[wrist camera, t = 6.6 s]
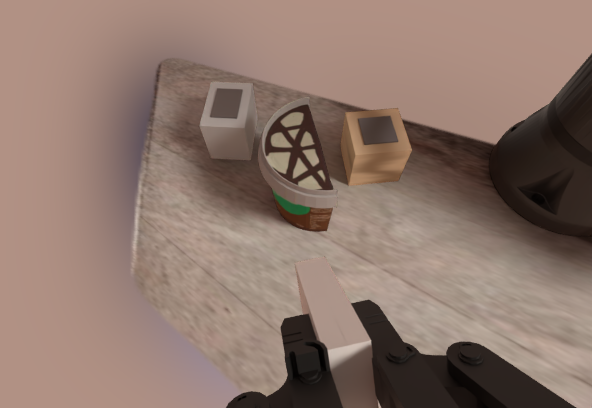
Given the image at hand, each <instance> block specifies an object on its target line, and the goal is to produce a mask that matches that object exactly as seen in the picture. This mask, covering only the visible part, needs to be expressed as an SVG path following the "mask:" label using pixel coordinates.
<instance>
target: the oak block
mask: <svg viewBox="0 0 592 408" xmlns="http://www.w3.org/2000/svg"><path fill="white" fill-rule="evenodd" d="M340 148H341V152H342V157H343V162H344V166H345V171H346V176H347V180H348V185H349V186H351V185H361V184H372V183H382V182H393V181H398V180H399V178H400V176H401V174H402V171H403V169H404V167H405V165H406V162H407V160H408V158H409V156H410V153H411V151H412V148H411V146H410V143H409V140H408V137H407V134H406V131H405V128H404V125H403V122H402V119H401V116H400V113H399V110H398V108H393V109H381V110H370V111H358V112H346V113H345V119H344V125H343V131H342V138H341V144H340Z"/></svg>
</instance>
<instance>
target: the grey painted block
mask: <svg viewBox="0 0 592 408" xmlns="http://www.w3.org/2000/svg"><path fill="white" fill-rule="evenodd" d="M257 120H258V116H257V109H256V102H255V96H254V89H253V83H235V82H211V84H210V88H209V92H208V96H207V99H206V103H205V107H204V110H203V114H202V118H201V122H200V125H199V126H200V129H201V132H202V135H203V137H204V140H205V143H206V146H207V148H208V151H209V154H210V157H211V158H213V159H232V160H251V157H252V151H253V145H254V138H255V132H256V126H257Z"/></svg>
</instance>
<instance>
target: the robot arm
mask: <svg viewBox="0 0 592 408" xmlns="http://www.w3.org/2000/svg"><path fill="white" fill-rule="evenodd" d="M489 168H490V174H491V178H492V180H493V183H494V185H495V187H496V189H497V191H498V192H499V194H500V195H501V196H502V198H503V199H504V200H505V201H506V203H507V204H508V205H509V206H510V207H511V208H513V209H514V210H515V211H516V212H517V213H518V214H520V215H521V216H522V217H524V218H525V219H527V220H529V221H530V222H532V223H534V224H536V225H538V226H540V227H542V228H545V229H547V230H550V231H553V232H556V233H560V234H565V235H572V236H588V235H592V54H591V55H590V56H589V57H588V59H587V60H586V61H585V62H584V63H583V65H582V66H581V67H580V68H579V69H578V70H577V72H576V73H575V74H574V75H573V76H572V78H571V79H570V80H569V81H568V82H567V83H566V85H565V86H564V87H563V88H562V89H561V91H560V92H559V93H558V94H557V95H556V96H555V98H554V99H553V100H552V101H551V102H550V103H549V104H548V105H546V106H545V107H543V108H541V109H540V110H538V111H537V112H535V113H533V114H532V115H531V116H529V117H528V118H527V119H525V120H523V121H521V122H519V123H517V124H516V125H514V126H513V127H511V128H510V129H509V130H508V131H507V132H506V133H505V134H504V135H503V136H502V138H501V139H500V140H499V141H498V143H497V144H496V145H495V147H494V148H493V150H492V153H491V156H490V162H489ZM295 268H296V274H297V280H298V286H299V292H300V298H301V305H302V311H303V315H299V316H295V317H290V318H285V319H284V321H283V323H282V325H281V333H282V339H283V345H284V351H285V362H286V368H287V373H288V376H287V379H286V382H285V383H284V385H283V386H282V387H281V388H280V389H279V390H277V391H276V392H274V393H273V394H271V395H269V396H267V397H266V396H265V395H263V394H262V393H260V392H252V391H251V392H246V393H243V394H241V395H239V396H237V397H235V398H234V399H233V400H232V401H231V402H230V403H229V404H228V406H227V407H226V408H378V401H379V403H380V405H381V408H576V407H574V406H573V405H571V404H570V403H568V402H567V401H565V400H564V399H562V398H561V397H559V396H558V395H556V394H555V393H553V392H552V391H550V390H549V389H547V388H546V387H544V386H543V385H541V384H540V383H538V382H537V381H535V380H534V379H532V378H531V377H529V376H528V375H526V374H525V373H523V372H522V371H520V370H519V369H517V368H516V367H514V366H513V365H511V364H510V363H508V362H507V361H505V360H504V359H502V358H501V357H499V356H498V355H496V354H495V353H493V352H492V351H490V350H489V349H487V348H486V347H484V346H482V345H480V344H477V343H472V342H458V343H454V344H452V345H451V346H450V347H448V350H447V352H446V355H447V356H442V355H424V354H421V353H419V351H418V350H417V349H416V348H415V347H414V346H412V345H410V344H408V343H405V342H403V341H402V339H401V338H400V336H399V335H398V333H397V332H396V330H395V329H394V328H393V326H392V325H391V323H390V322H389V321H388V319H387V317H386V316H385V314H384V313H383V312H382V310H381V309H380V307H379V306H378V305H377V304H375V303H373V302H372V301H370V300H365V301H361V302H356V303H350V301H349V299H348V298H347V296H346V294H345V292H344V290H343V289H342V287H341V285H340V283H339V281H338V279H337V278H336V276H335V274H334V272H333V270H332V269H331V267H330V265H329V263H328V261H327V259H326V258H325V257H320V258H315V259H310V260H305V261H300V262H295ZM377 399H378V400H377Z"/></svg>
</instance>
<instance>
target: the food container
mask: <svg viewBox="0 0 592 408" xmlns="http://www.w3.org/2000/svg"><path fill="white" fill-rule="evenodd" d="M258 163H259V167H260V170H261V173H262V175H263V177H264V179H265V180H266V182H267V183H268V184H269V186H270V187H271V188H272V191H273V194H274V198H275V202H276V205H277V208H278V210H279V212H280V214H281V215H282V216H283V218H284V219H285V220H287V221H288V222H289V223H290V224H292V225H293V226H296V227H298V228H300V229H303V230H307V231H318V232H319V231H327V228H328V224H329V221H330V217H331V213H332V210H333V208H335V207H337V190H333V186H332V184H331V181H330V178H329V174H328V171H327V167H326V163H325V160H324V156H323V152H322V148H321V144H320V141H319V138H318V135H317V132H316V129H315V126H314V122H313V119H312V115H311V112H310V97H304V98H300V99H297V100H294V101H292V102H290V103H288V104H286V105H284V106H283V107H281V108H280V109H279V110H278V111H276V112H275V113H274V114H273V115H272V117H271V118H270V119H269V121H268V122H267V124H266V126H265V128H264V130H263V132H262V135H261V138H260V143H259V150H258Z"/></svg>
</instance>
